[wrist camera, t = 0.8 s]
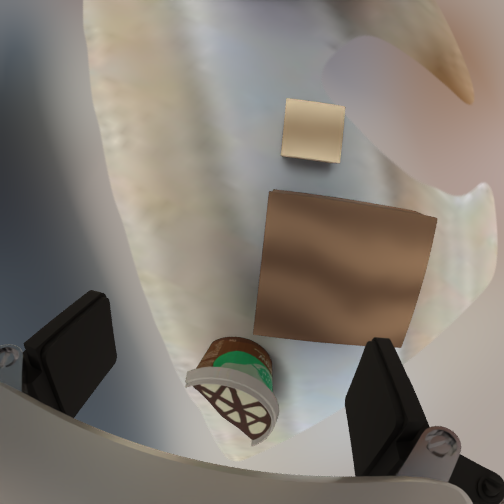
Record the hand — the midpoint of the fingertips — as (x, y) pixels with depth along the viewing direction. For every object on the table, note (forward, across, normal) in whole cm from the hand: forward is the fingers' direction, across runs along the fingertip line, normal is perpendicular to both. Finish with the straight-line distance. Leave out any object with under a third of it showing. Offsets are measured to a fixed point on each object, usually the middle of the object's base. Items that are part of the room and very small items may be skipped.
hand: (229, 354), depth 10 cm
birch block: (+23, -3, -9) cm, 25 cm away
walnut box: (+23, -8, +4) cm, 25 cm away
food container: (+23, 0, +18) cm, 29 cm away
